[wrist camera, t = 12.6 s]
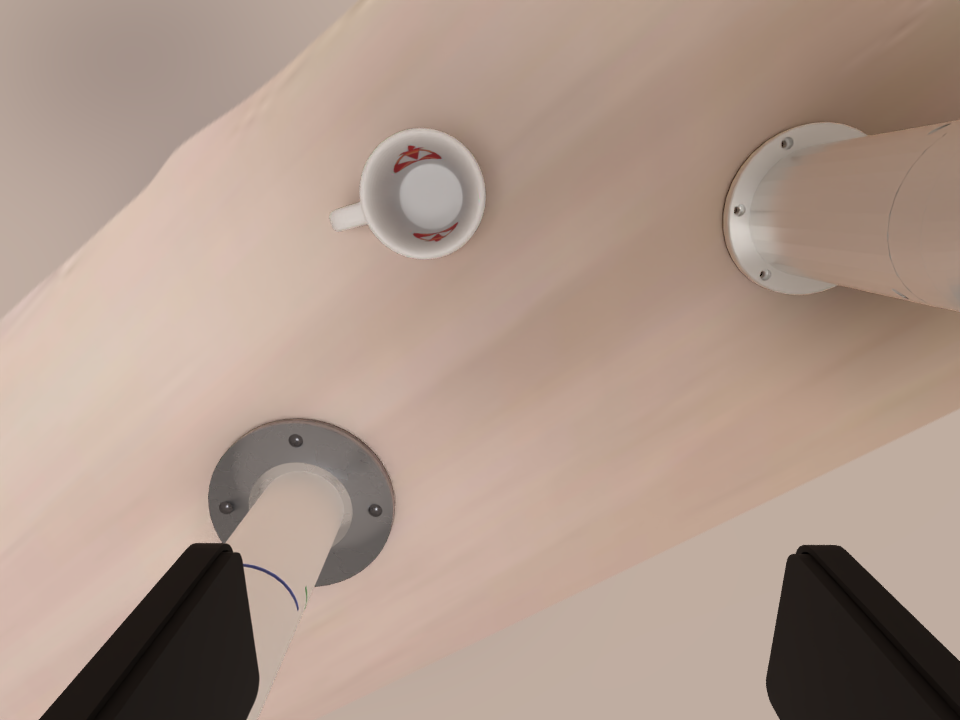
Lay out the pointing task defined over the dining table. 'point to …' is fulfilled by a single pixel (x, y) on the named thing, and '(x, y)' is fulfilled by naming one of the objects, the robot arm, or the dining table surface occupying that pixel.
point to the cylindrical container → (284, 562)
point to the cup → (418, 195)
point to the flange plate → (323, 455)
